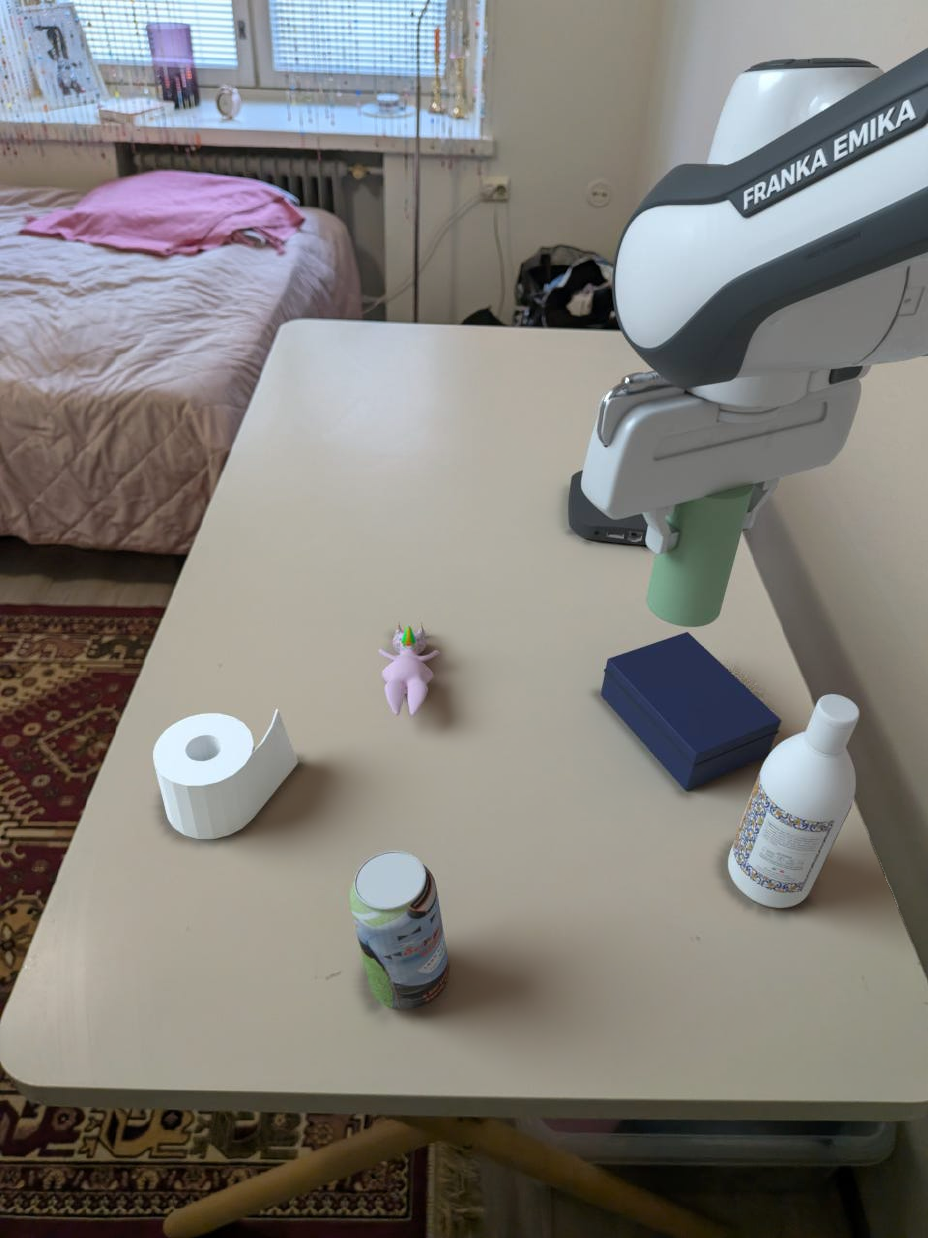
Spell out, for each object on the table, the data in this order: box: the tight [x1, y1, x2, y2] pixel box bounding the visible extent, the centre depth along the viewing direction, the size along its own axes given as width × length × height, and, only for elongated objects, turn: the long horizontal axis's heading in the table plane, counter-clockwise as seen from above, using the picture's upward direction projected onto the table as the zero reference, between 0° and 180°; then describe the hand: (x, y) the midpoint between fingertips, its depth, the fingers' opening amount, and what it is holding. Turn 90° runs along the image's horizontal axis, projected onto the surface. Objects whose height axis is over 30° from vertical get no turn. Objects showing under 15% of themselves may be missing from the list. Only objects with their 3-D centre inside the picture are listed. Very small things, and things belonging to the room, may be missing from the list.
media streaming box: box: [567, 469, 648, 546], centre depth 120 cm, size 15×15×3 cm
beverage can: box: [348, 850, 450, 1011], centre depth 66 cm, size 6×7×12 cm
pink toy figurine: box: [378, 621, 440, 717], centre depth 93 cm, size 6×6×15 cm
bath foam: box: [727, 693, 860, 909], centre depth 72 cm, size 7×7×20 cm
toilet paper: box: [152, 708, 299, 840], centre depth 81 cm, size 8×11×7 cm
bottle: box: [645, 484, 754, 628], centre depth 66 cm, size 6×6×16 cm
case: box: [600, 631, 782, 792], centre depth 90 cm, size 14×10×5 cm
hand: (699, 537), depth 67 cm, fingers closed on bottle, 5 cm apart
